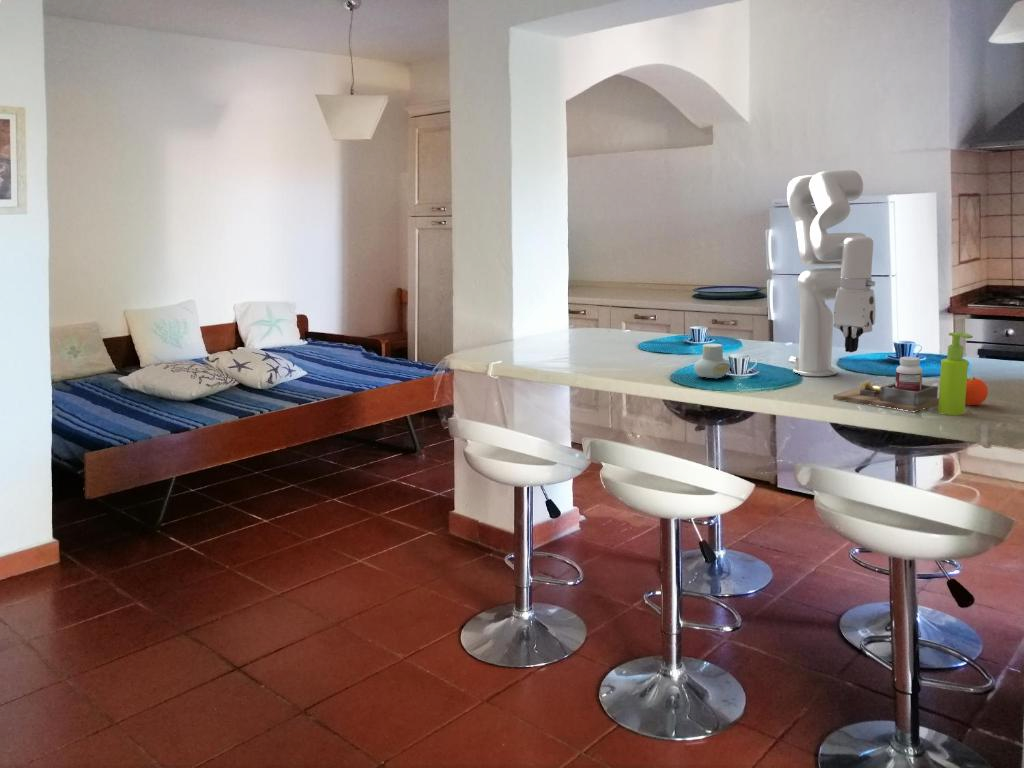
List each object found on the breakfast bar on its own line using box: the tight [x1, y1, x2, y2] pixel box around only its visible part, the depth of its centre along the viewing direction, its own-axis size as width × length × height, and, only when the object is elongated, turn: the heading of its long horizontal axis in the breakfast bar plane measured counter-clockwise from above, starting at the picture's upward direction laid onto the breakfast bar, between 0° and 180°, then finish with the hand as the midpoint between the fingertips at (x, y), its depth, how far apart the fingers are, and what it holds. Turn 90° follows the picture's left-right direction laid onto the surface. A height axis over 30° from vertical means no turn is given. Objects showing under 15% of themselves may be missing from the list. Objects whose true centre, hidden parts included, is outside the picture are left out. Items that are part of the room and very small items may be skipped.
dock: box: [832, 382, 939, 411], centre depth 236 cm, size 22×14×5 cm, turn 39°
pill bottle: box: [894, 356, 923, 392], centre depth 231 cm, size 6×6×11 cm
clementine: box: [965, 377, 989, 406], centre depth 229 cm, size 8×7×7 cm
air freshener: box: [693, 343, 731, 378], centre depth 273 cm, size 11×8×10 cm
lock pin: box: [860, 380, 883, 394], centre depth 237 cm, size 9×3×3 cm, turn 39°
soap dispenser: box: [937, 332, 974, 416], centre depth 220 cm, size 6×7×20 cm
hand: (851, 351), depth 243 cm, fingers closed
